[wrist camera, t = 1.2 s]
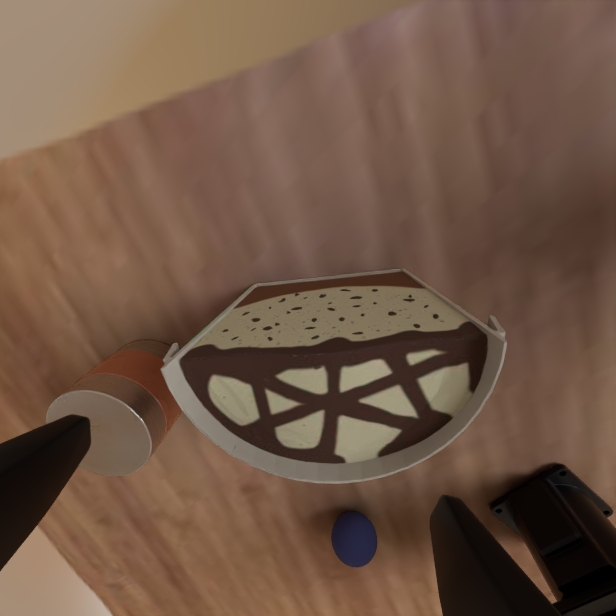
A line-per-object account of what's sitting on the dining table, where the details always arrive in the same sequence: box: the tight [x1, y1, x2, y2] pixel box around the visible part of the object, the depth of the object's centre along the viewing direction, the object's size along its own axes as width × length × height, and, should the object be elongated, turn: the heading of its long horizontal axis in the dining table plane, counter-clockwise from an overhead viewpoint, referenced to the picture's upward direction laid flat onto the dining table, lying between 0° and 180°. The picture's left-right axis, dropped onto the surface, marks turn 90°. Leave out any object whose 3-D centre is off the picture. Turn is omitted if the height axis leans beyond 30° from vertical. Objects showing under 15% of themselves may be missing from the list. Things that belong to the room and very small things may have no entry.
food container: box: [161, 268, 507, 484], centre depth 16 cm, size 12×6×10 cm, turn 97°
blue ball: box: [331, 511, 377, 567], centre depth 25 cm, size 4×4×4 cm
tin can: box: [46, 340, 182, 476], centre depth 20 cm, size 6×6×6 cm
